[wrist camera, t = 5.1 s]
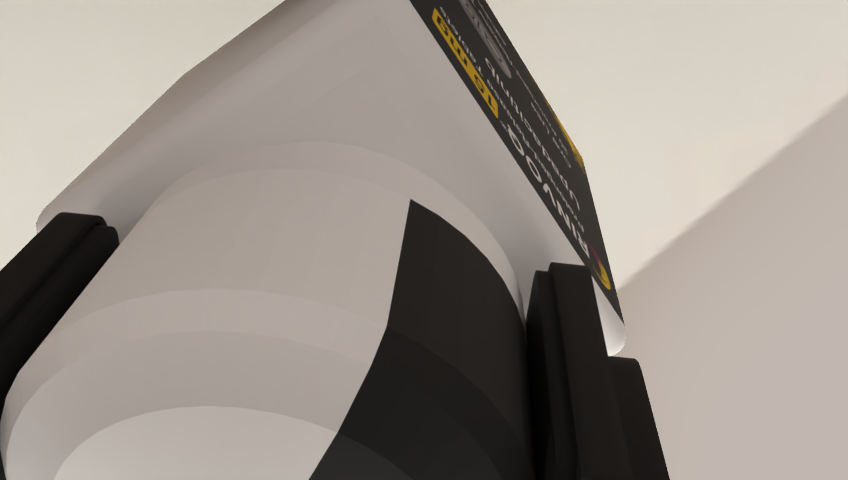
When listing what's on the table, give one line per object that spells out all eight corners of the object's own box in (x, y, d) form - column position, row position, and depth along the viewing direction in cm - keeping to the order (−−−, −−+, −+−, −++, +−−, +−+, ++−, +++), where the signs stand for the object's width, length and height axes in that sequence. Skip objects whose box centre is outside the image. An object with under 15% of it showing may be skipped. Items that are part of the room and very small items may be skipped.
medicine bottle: (587, 163, 18) (717, 653, 8) (355, 287, 21) (226, 782, 10) (424, -103, 15) (298, 127, 5) (177, 77, 18) (-242, 477, 8)
